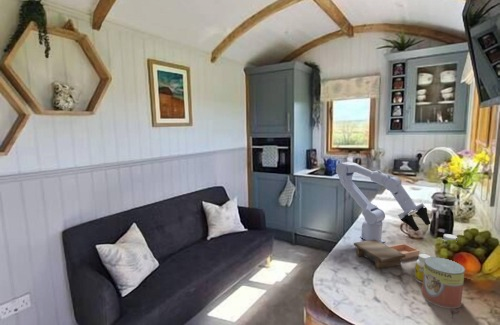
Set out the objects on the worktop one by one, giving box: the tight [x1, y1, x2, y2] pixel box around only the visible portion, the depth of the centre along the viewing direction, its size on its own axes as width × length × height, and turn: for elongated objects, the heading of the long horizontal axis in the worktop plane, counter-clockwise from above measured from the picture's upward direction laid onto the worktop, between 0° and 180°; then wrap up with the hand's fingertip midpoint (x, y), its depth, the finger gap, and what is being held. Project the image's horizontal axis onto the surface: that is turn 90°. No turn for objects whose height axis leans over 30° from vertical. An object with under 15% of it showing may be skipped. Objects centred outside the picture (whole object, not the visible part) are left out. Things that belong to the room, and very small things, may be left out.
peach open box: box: [388, 243, 421, 261], centre depth 128 cm, size 8×10×3 cm
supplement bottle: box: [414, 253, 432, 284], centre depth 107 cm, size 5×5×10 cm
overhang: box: [353, 239, 405, 270], centre depth 123 cm, size 17×12×5 cm
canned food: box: [421, 256, 466, 309], centre depth 96 cm, size 11×11×12 cm
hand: (423, 227), depth 126 cm, fingers open, 7 cm apart
